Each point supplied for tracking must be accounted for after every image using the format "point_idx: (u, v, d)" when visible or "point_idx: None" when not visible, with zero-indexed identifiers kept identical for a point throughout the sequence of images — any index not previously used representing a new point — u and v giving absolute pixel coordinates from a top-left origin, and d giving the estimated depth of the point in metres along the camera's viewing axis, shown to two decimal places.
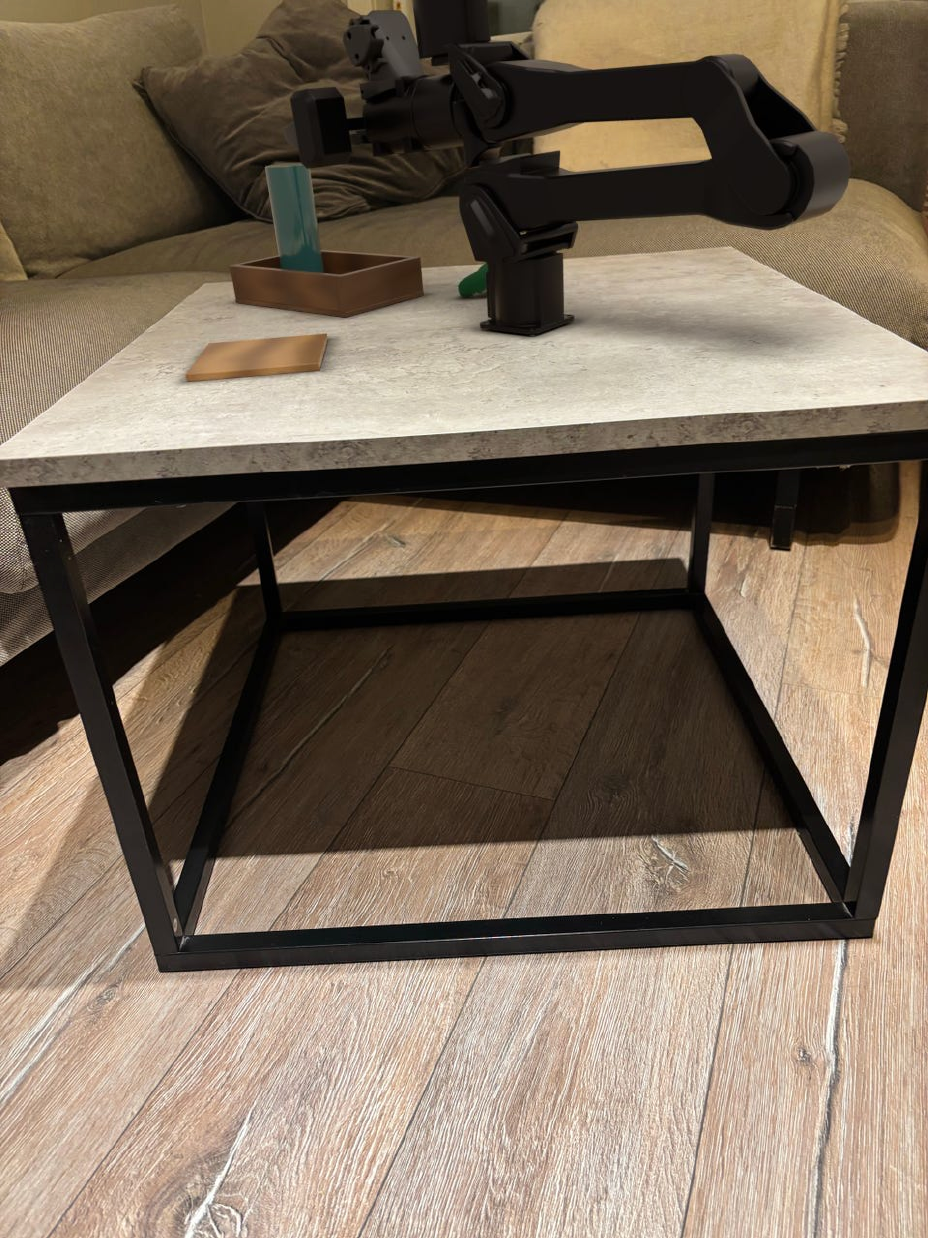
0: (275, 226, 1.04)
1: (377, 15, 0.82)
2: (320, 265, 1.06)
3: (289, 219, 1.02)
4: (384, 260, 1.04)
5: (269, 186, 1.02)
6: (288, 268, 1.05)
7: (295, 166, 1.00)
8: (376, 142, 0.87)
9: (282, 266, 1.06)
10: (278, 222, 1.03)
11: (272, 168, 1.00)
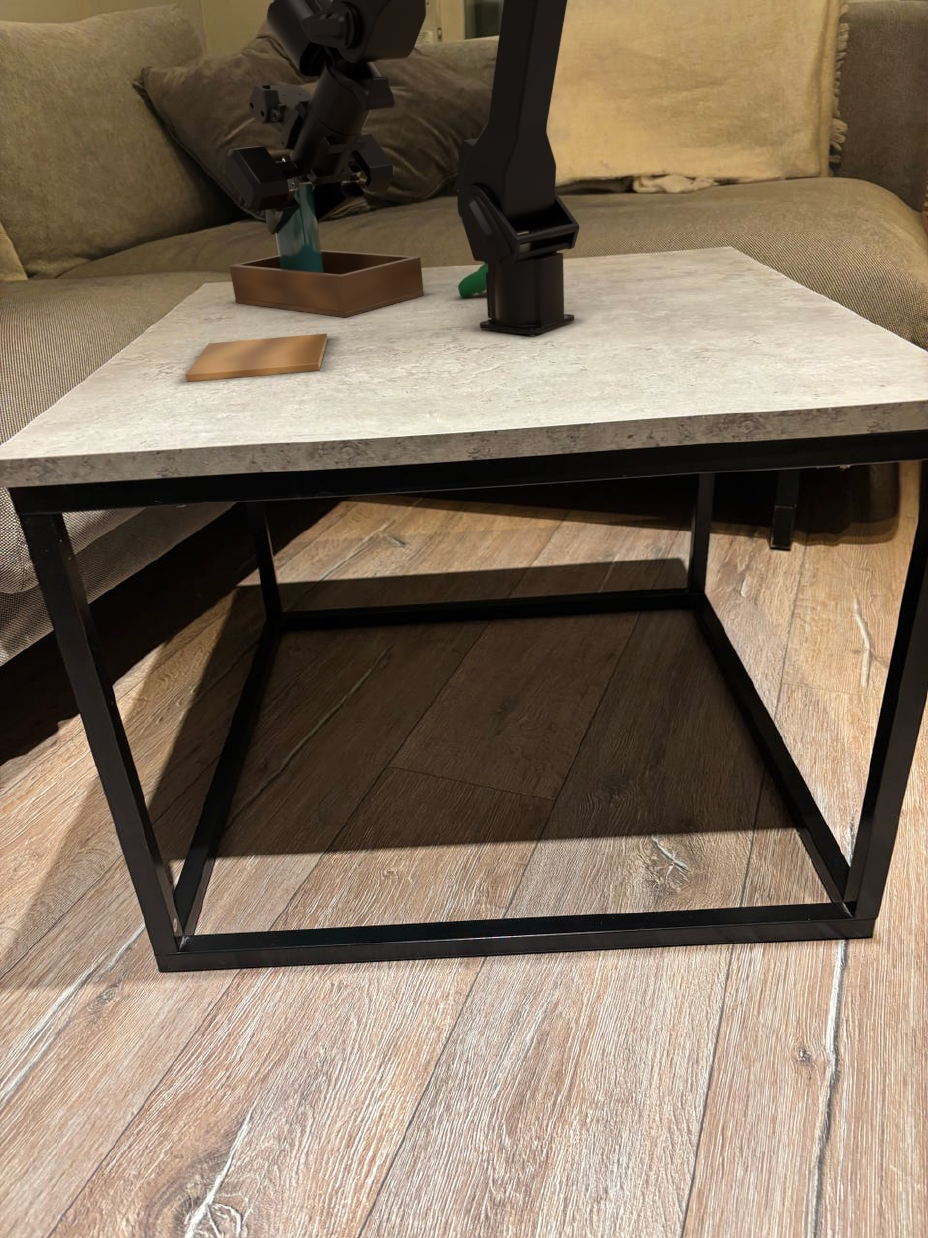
0: None
1: (271, 87, 0.97)
2: (320, 265, 1.06)
3: (289, 219, 1.02)
4: (384, 260, 1.04)
5: None
6: (288, 268, 1.05)
7: None
8: (309, 171, 0.96)
9: (282, 266, 1.06)
10: None
11: None
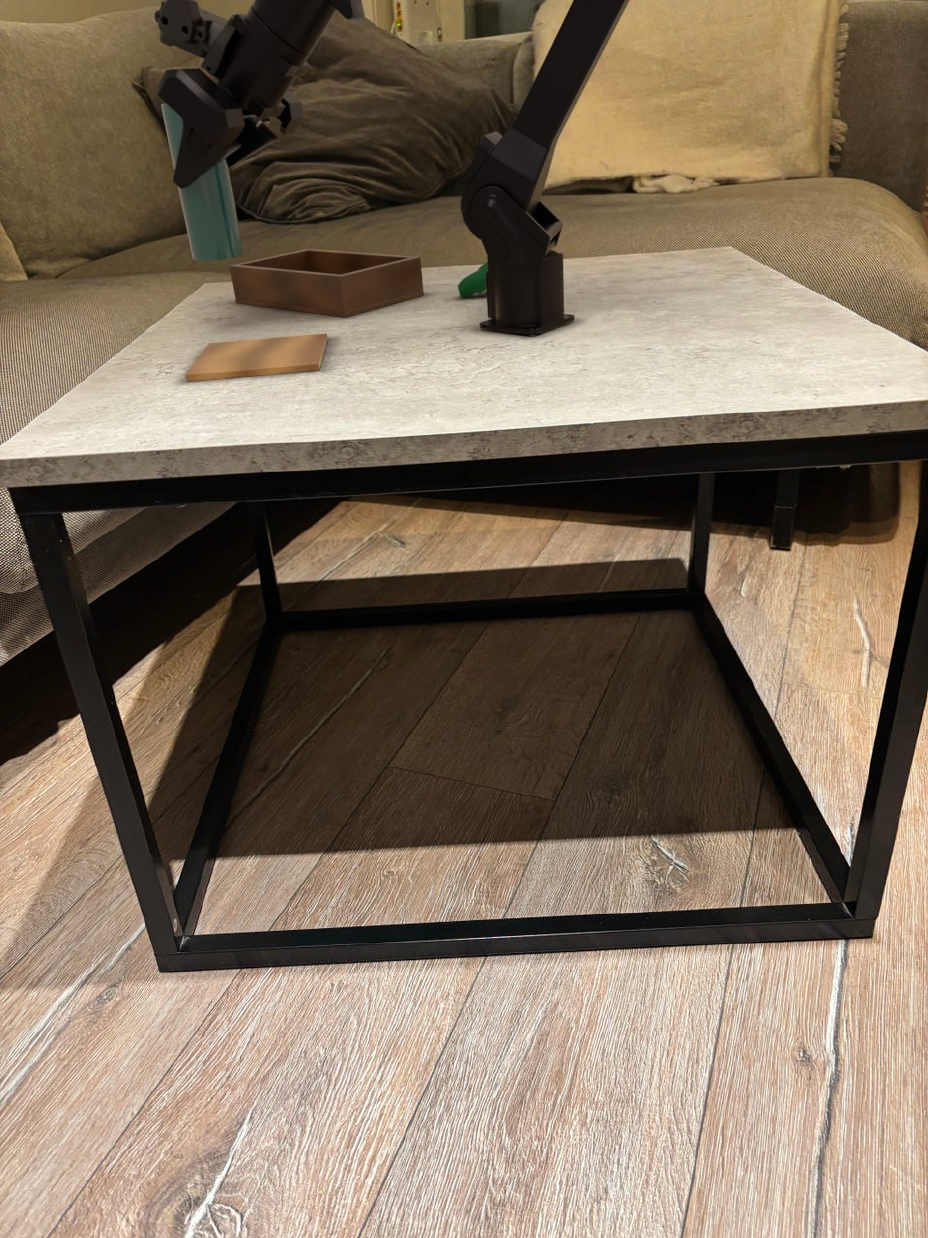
0: None
1: None
2: (238, 224, 0.89)
3: None
4: (384, 260, 1.04)
5: (175, 127, 0.83)
6: (207, 229, 0.86)
7: None
8: (252, 101, 0.80)
9: (196, 228, 0.87)
10: None
11: None
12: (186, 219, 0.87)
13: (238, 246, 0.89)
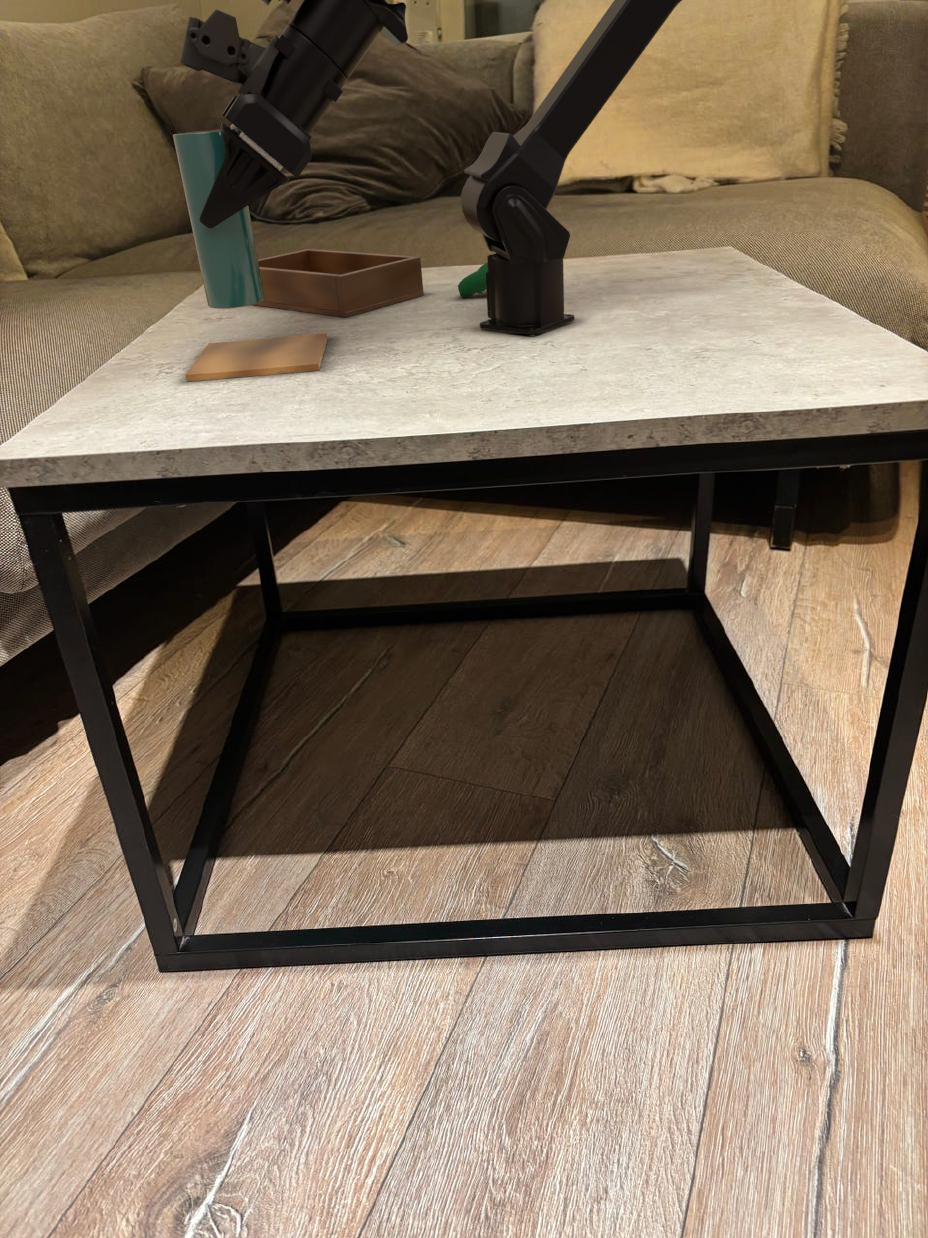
0: None
1: None
2: None
3: None
4: (384, 260, 1.04)
5: (201, 160, 0.73)
6: (238, 272, 0.77)
7: (234, 130, 0.74)
8: None
9: (225, 271, 0.77)
10: None
11: (211, 133, 0.72)
12: (208, 263, 0.77)
13: None
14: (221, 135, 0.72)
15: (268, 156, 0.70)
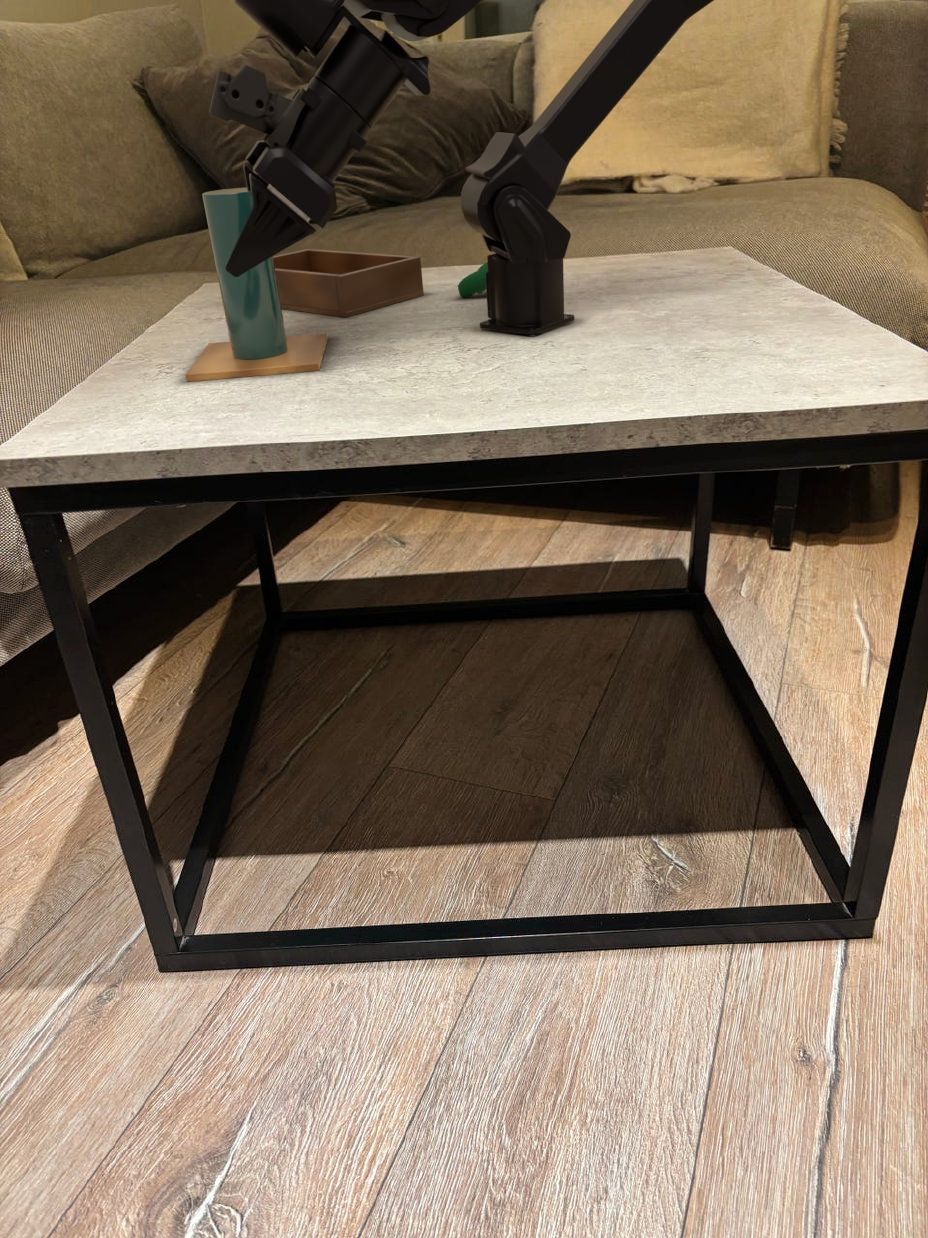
0: None
1: None
2: None
3: None
4: (384, 260, 1.04)
5: (230, 219, 0.75)
6: (263, 325, 0.79)
7: None
8: (321, 178, 0.75)
9: (250, 325, 0.79)
10: None
11: (240, 194, 0.74)
12: (234, 316, 0.79)
13: (286, 340, 0.82)
14: (249, 195, 0.75)
15: (296, 208, 0.70)
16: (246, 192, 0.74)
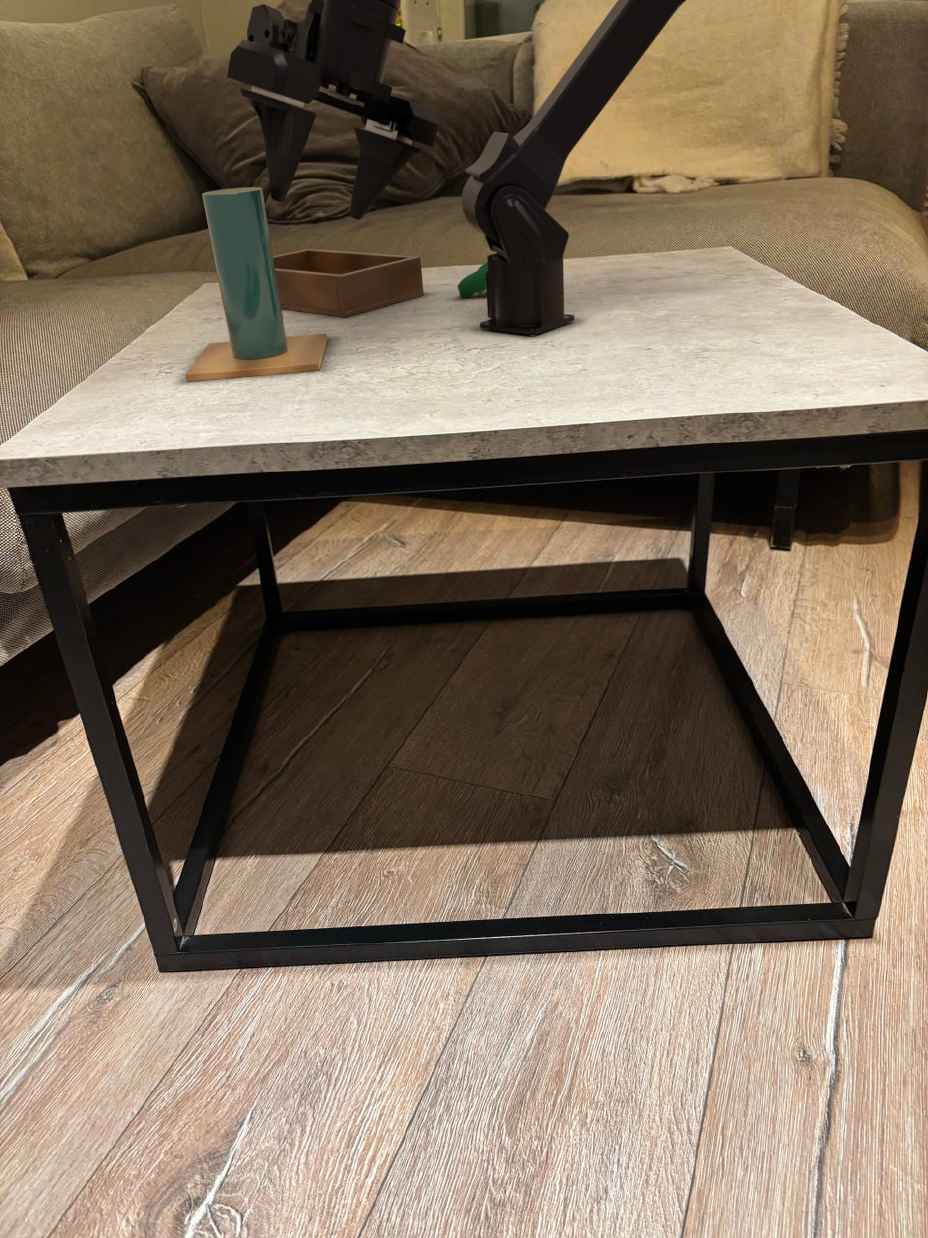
0: (238, 273, 0.77)
1: None
2: None
3: (263, 260, 0.77)
4: (384, 260, 1.04)
5: (230, 219, 0.75)
6: (263, 325, 0.79)
7: (261, 190, 0.76)
8: (340, 72, 0.72)
9: (250, 325, 0.79)
10: (248, 266, 0.77)
11: (240, 194, 0.74)
12: (234, 316, 0.79)
13: (286, 340, 0.82)
14: (249, 195, 0.75)
15: (271, 93, 0.69)
16: (246, 192, 0.74)
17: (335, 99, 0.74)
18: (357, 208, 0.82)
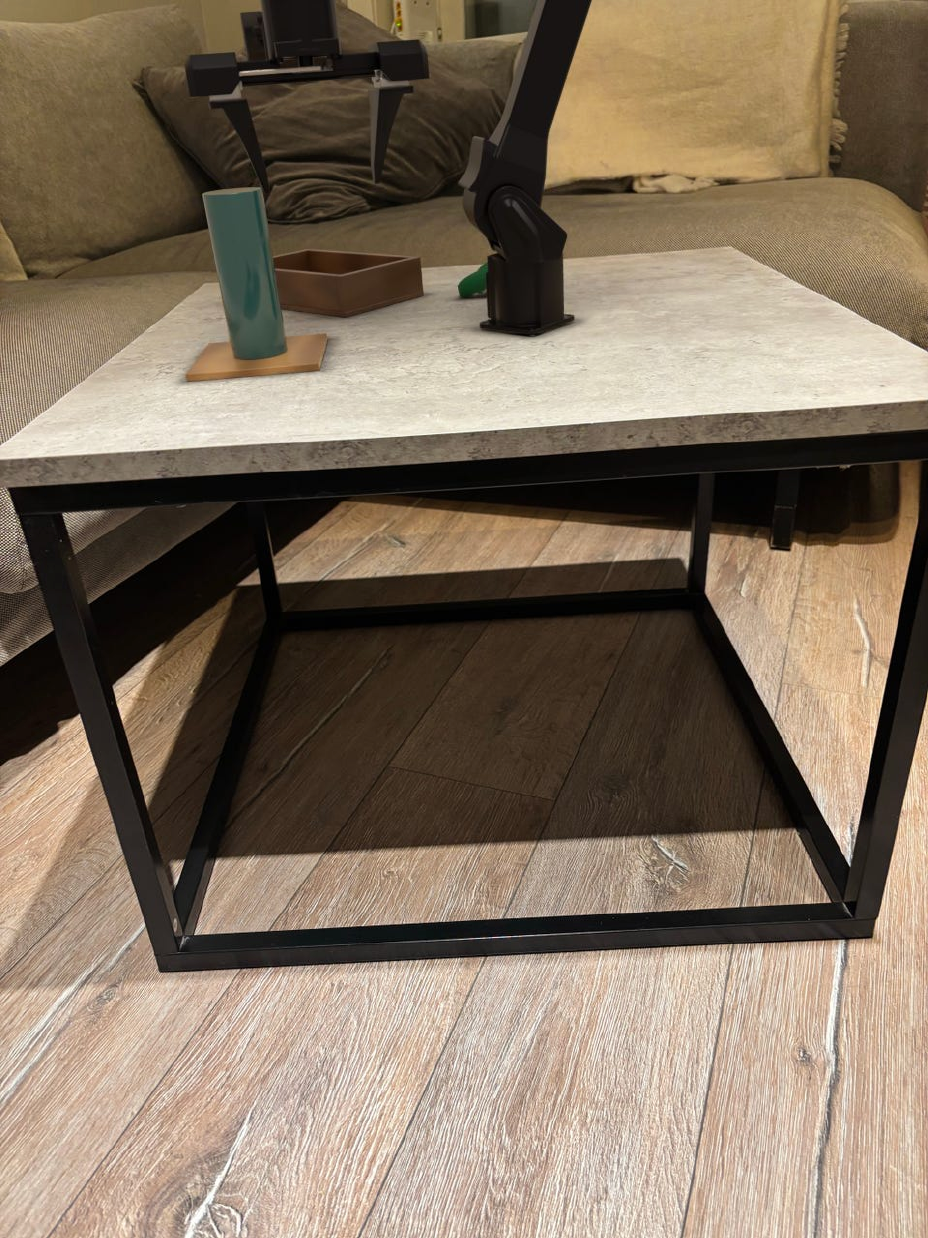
0: (238, 273, 0.77)
1: None
2: None
3: (263, 260, 0.77)
4: (384, 260, 1.04)
5: (230, 219, 0.75)
6: (263, 325, 0.79)
7: (261, 190, 0.76)
8: (274, 47, 0.72)
9: (250, 325, 0.79)
10: (248, 266, 0.77)
11: (240, 194, 0.74)
12: (234, 316, 0.79)
13: (286, 340, 0.82)
14: (249, 195, 0.75)
15: None
16: (246, 192, 0.74)
17: (294, 74, 0.74)
18: (373, 172, 0.79)
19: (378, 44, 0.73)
